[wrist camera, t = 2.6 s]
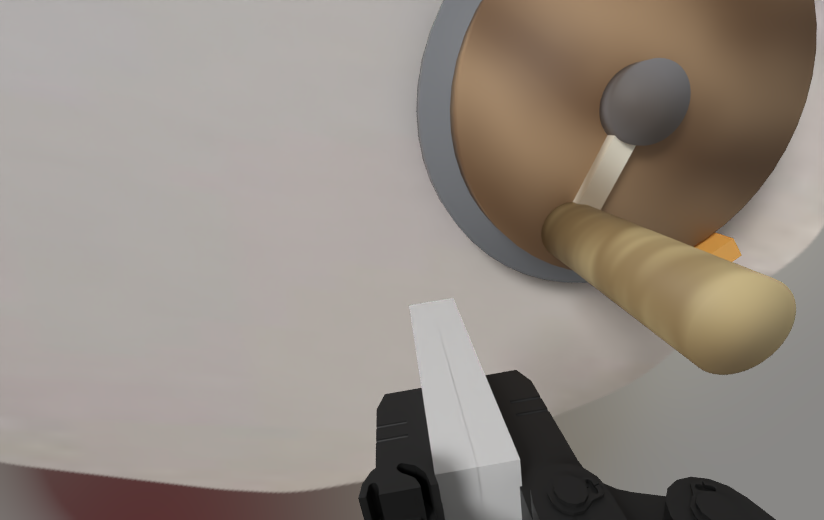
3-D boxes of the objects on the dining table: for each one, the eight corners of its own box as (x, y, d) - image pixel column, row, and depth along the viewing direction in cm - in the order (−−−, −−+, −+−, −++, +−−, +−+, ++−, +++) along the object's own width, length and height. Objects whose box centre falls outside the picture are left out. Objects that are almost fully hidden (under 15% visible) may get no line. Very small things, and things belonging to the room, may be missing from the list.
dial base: (514, -206, 17) (564, -331, 12) (836, -4, 21) (969, -41, 16) (366, 209, 23) (362, 231, 18) (639, 308, 26) (695, 347, 22)
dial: (547, -184, 16) (978, -982, 4) (843, 1, 19) (1534, -181, 8) (400, 201, 21) (423, 296, 9) (655, 296, 24) (902, 453, 12)
